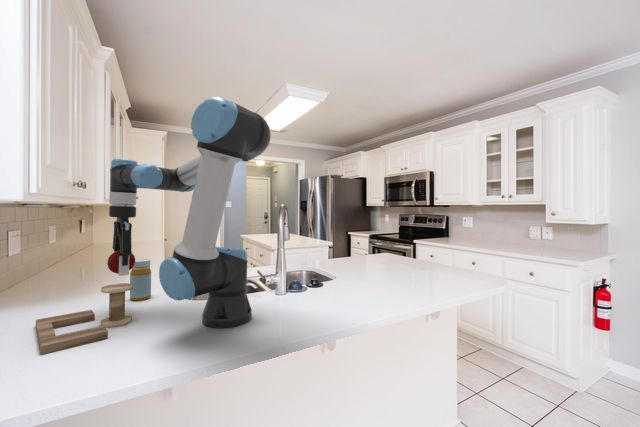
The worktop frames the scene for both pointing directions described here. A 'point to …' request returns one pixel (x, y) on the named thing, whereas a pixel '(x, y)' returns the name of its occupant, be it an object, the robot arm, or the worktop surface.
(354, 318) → the worktop surface
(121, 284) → the bobbin
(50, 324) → the notched board
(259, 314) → the worktop surface
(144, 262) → the bottle
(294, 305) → the worktop surface
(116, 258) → the apple
